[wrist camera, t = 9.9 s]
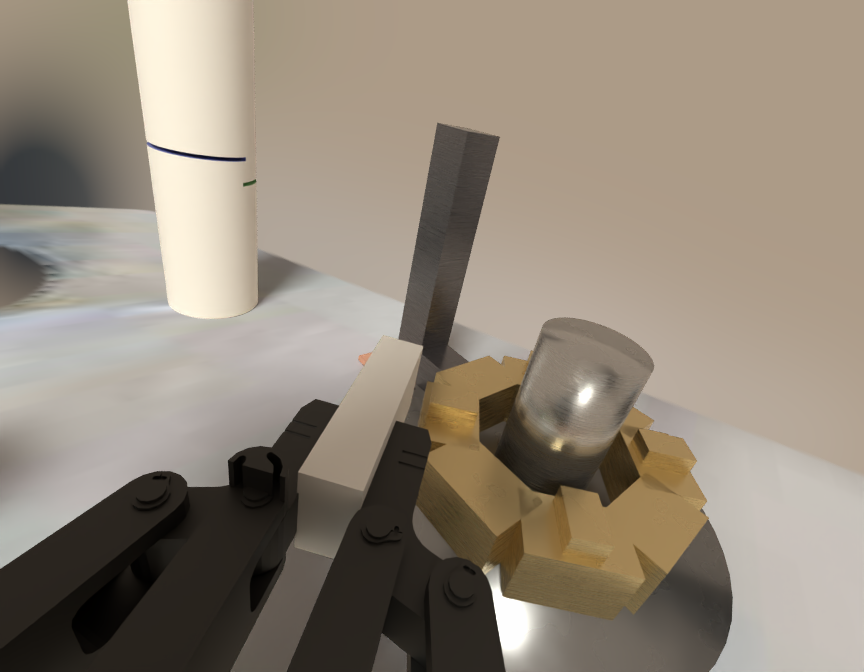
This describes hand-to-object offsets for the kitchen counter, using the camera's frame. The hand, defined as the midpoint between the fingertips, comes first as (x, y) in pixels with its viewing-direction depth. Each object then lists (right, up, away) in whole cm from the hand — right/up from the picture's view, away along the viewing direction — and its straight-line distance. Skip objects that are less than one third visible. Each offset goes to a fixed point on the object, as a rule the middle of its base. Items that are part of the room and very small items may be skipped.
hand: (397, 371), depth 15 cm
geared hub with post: (+5, -5, +9) cm, 12 cm away
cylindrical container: (-18, +4, +22) cm, 29 cm away
